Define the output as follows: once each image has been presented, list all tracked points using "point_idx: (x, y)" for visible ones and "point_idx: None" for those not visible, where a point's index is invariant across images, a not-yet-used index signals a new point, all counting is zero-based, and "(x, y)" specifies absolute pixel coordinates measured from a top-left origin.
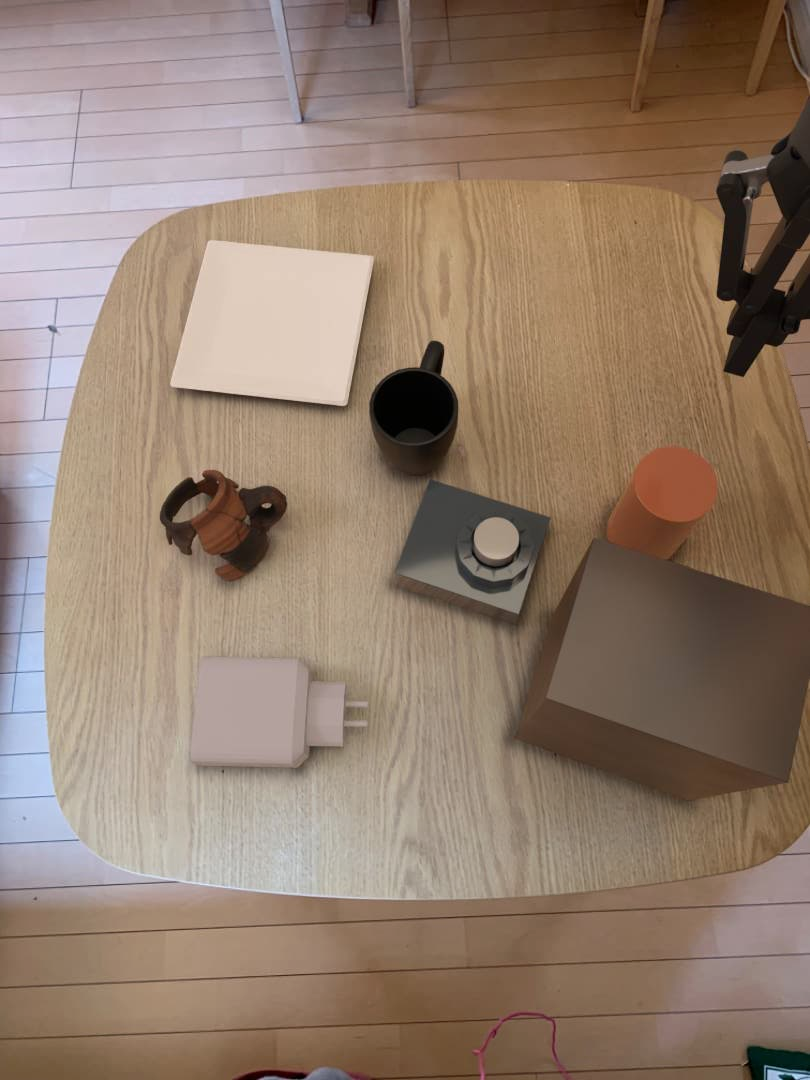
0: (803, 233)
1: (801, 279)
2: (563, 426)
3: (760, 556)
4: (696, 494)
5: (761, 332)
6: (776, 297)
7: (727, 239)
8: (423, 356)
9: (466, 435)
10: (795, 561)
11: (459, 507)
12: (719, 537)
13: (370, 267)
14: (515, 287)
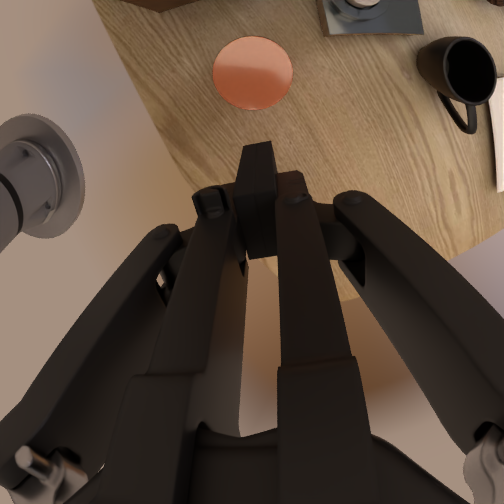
0: (301, 442)
1: (231, 283)
2: (349, 122)
3: (172, 99)
4: (230, 72)
5: (251, 181)
6: (258, 243)
7: (468, 296)
8: (476, 117)
9: (408, 87)
10: (151, 110)
11: (395, 18)
12: (204, 95)
13: (498, 184)
14: (414, 210)
